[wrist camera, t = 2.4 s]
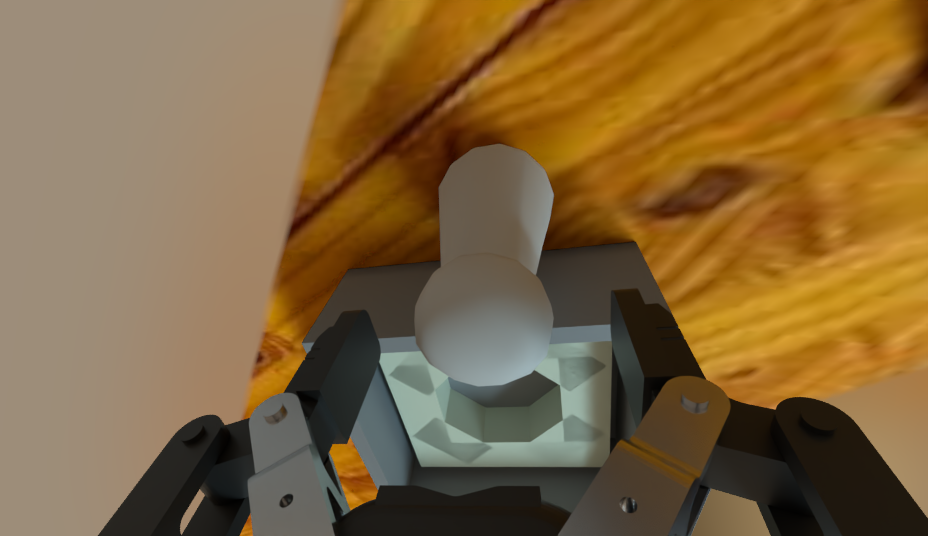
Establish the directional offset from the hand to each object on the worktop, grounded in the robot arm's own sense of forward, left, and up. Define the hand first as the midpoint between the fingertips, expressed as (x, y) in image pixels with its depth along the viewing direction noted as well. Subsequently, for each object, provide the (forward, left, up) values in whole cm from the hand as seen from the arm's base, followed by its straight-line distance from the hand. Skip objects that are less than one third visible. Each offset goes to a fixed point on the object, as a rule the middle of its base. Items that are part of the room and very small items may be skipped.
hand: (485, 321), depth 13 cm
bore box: (+13, -1, -11) cm, 17 cm away
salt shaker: (0, 0, -11) cm, 11 cm away
